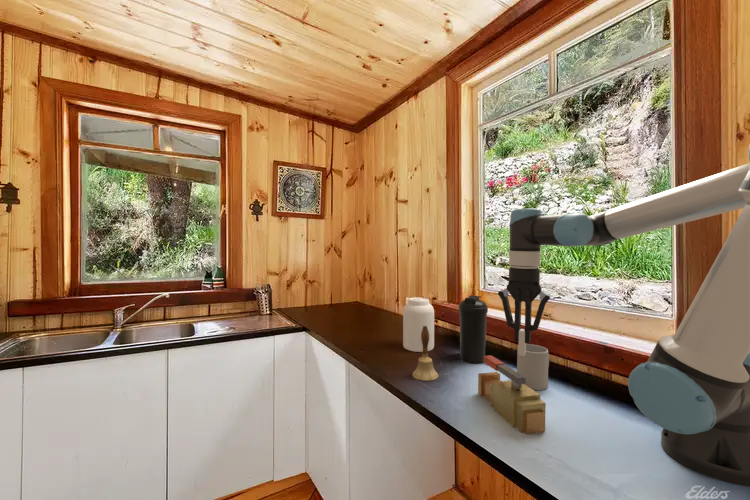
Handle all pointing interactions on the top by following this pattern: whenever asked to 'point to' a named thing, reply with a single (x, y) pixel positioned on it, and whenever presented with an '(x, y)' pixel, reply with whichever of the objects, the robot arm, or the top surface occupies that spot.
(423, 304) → the white lidded jar
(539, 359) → the mug
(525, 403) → the valve
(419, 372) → the hand bell
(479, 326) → the water bottle
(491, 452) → the top surface
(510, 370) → the lever
